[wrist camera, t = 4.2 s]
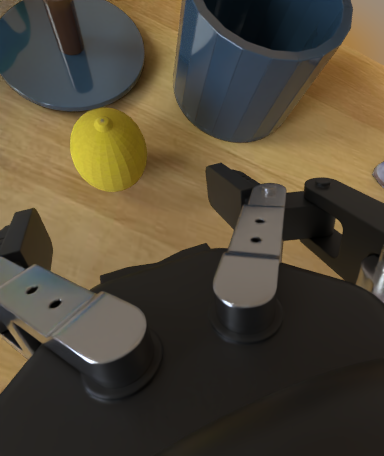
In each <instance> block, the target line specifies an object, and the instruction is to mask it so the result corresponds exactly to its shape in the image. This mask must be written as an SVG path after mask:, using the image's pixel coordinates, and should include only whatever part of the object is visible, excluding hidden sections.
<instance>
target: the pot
mask: <svg viewBox="0 0 384 456" xmlns="http://www.w3.org/2000/svg"><path fill="white" fill-rule="evenodd" d="M352 12H353V7H352V4H351V0H182V3H181V12H180V20H179V29H178V38H177V47H176V56H175V64H174V73H173V78H174V79H173V88H174V94H175V97H176V100H177V103H178V105H179V107H180V109H181V110H182V112H183V113H184V115H185V116H186V117H187V118H188V120H189V121H191V122H192V123H193V124H194V125H195V126H196V127H197V128H199V129H200V130H201V131H203V132H205V133H207V134H208V135H210V136H213V137H215V138H218V139H221V140H224V141H229V142H238V143H242V142H252V141H256V140H260V139H262V138H265V137H267V136H269V135H270V134H272V133H273V132H274V131H275V130H277V129H278V128H279V127H280V126H281V125H282V124H283V122H284V121H285V119H286V118H287V117H288V115H289V114H290V113H291V111H292V110H293V109H294V107H295V106H296V105H297V103H298V102H299V101H300V99H301V98H302V96H303V95H304V94H305V92H306V91H307V90H308V88H309V87H310V86H311V84H312V83H313V82H314V80H315V79H316V78H317V76H318V75H319V74H320V72H321V71H322V69H323V68H324V67H325V65H326V64H327V63H328V61H329V60H330V59H331V57H332V56H333V55H334V53H335V52H336V51H337V49H338V48H339V46H340V45H341V44H342V42H343V40H344V39H345V37H346V35H347V34H348V32H349V31H350V29H351V22H352Z"/></svg>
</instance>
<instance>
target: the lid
mask: <svg viewBox="0 0 384 456" xmlns="http://www.w3.org/2000/svg"><path fill="white" fill-rule="evenodd" d="M144 59H145V50H144V43H143V40H142V37H141V34H140V32H139V30H138V28H137V27H136V25H135V24H134V22H133V21H132V20H131V19H130V18H129V17H128V16H127V15H126V14H125V13H124V12H123V11H122V10H120V9H119V8H118V7H116V6H115V5H113V4H111V3H110V2H108V1H106V0H23V1H21V2H19V3H17V4H16V5H14V6H13V7H12V8H10V9H9V10H8V11H7V12H6V13H5V14H4V15H3V16H2V18H1V19H0V74H1V76H2V77H3V79H4V80H5V82H6V83H7V84H8V85H9V86H10V87H11V88H12V89H13V90H14V91H15V92H17V93H18V94H19V95H21V96H22V97H24V98H25V99H27V100H29V101H31V102H33V103H35V104H37V105H40V106H43V107H46V108H50V109H55V110H60V111H87V110H93V109H97V108H101V107H103V106H106V105H109V104H111V103H113V102H115V101H117V100H118V99H120V98H121V97H123V96H124V95H125V94H127V93H128V92H129V91H130V90H131V89H132V88H133V86H134V85H135V84H136V83H137V81H138V79H139V78H140V75H141V73H142V70H143V66H144Z"/></svg>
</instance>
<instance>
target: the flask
mask: <svg viewBox="0 0 384 456" xmlns="http://www.w3.org/2000/svg"><path fill="white" fill-rule="evenodd" d="M372 175H373V176H374V177H375V178H376V180H377V182H378V183H379V184H380V185H381V186H382V187H384V162H382V163H380V164H379V165H378V166H377V167H376V168H375V169H374V172H373V174H372Z"/></svg>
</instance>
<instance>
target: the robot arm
mask: <svg viewBox="0 0 384 456" xmlns="http://www.w3.org/2000/svg"><path fill="white" fill-rule="evenodd" d="M206 180H207V190H208V198H209V202H210V204H211V206H212V207H213V208H214V209H215V210H216V212H217V213H218V214H219V215H220V216H221V217H222V218H223V219H224V220H225V221H226V222H227V223H228V224H229V225H230V226H231V227H232V228H233V229H234V232H233V235H232V238H231V241H230V244H229V247H228V249H227V248H214V249H210V247H209V246H208V245H207V243H204V244H201V245H198V246H195V247H192V248H188V249H185V250H182V251H180V252H178V253H176V254H174V255H172V256H170V257H168V258H166V259H164V260H162V261H160V262H158V263H153V264H146V265H139V266H132V267H127V268H124V269H120V270H117V271H114V272H111V273H107V274H104V275H101V276H100V280H101V284H99V285H97V286H95V287H94V288H92V289H91V290H87V289H85V288H83V287H81V286H79V285H77V284H75V283H73V282H71V281H69V280H67V279H65V278H63V277H61V276H59V275H57V274H55V273H53V272H51V271H50V270H51V262H52V254H53V247H52V242H51V240H50V237H49V235H48V233H47V231H46V229H45V226H44V224H43V222H42V220H41V218H40V216H39V214H38V212H37V210H36V209H35V208H31V209H27V210H23V211H19V212H16V213H15V214H14V217H13V219H12V221H11V224H10V225H8V226H5V227H4V228H3V229H2V230H1V231H0V336H1V337H2V338H3V339H4V340H5V341H6V342H7V343H9V344H10V345H11V346H12V347H13V348H15V349H16V350H17V351H18V352H19V353H20V354H22V355H23V356H24V357H25V358H26V359H28V361H27V362H26V363H25V365H24V366H23V367H22V368H21V370H20V371H19V372H18V373H17V374H16V376H15V377H14V378H13V379H12V381H11V382H10V383H9V384H8V386H7V387H6V388H5V389H4V390H3V392H2V393H1V394H0V456H384V203H382V202H380V201H378V200H376V199H374V198H371V197H369V196H367V195H365V194H363V193H361V192H359V191H357V190H355V189H353V188H351V187H349V186H347V185H345V184H343V183H341V182H339V181H337V180H334V179H330V178H313V179H309V180H307V181H306V182H305V187H304V191H300V192H291V193H286V188H285V187H284V186H282V185H280V184H275V183H264V184H260V183H258V182H257V181H255V180H253V179H251V178H250V177H249V176H247V175H246V174H244V173H243V172H241V171H237V170H233V169H232V170H231V169H230V168H228V167H227V166H225V165H224V164H222V163H218V164H214V165H210V166H207V167H206ZM335 219H338V220H339V221H340V222H341V224H342V227H343V234H340V233H339V232H338V231H336V230H335V229H334V225H335ZM297 239H300V241H301V242H302V243H303V244H304V245H305V246H306V247H308V248H309V249H310V250H311V251H312V252H313V253H314V254H315V255H317V256H318V257H319V258H320V259H321V260H322V261H323V262H325V263H326V264H327V265H328V266H329V267H330V268H331V269H333V270H334V271H335V272H336V273H337V274H338V275H339V276H341V277H342V278H343V279H344V280H345V281H344V280H341V279H337V278H334V277H330V276H327V275H323V274H320V273H316V272H313V271H309V270H306V269H302V268H299V267H295V266H292V265H288V264H285V263H282V251H283V241H286V240H297Z"/></svg>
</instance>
